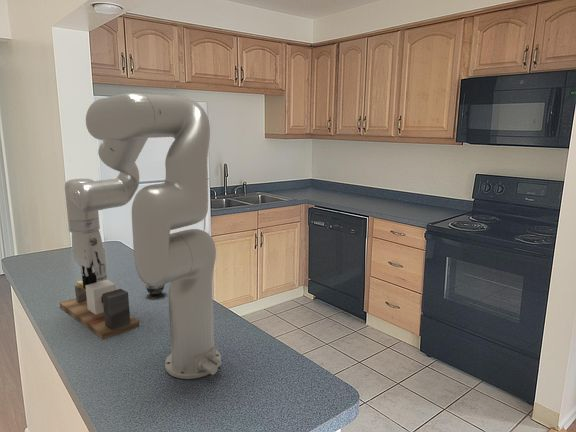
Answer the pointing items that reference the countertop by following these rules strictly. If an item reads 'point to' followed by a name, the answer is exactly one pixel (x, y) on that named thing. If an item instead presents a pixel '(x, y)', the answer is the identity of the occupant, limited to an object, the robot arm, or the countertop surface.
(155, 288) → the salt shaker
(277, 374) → the countertop surface
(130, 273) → the countertop surface
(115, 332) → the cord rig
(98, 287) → the cream matte cube
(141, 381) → the countertop surface
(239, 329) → the countertop surface
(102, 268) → the energy drink can
